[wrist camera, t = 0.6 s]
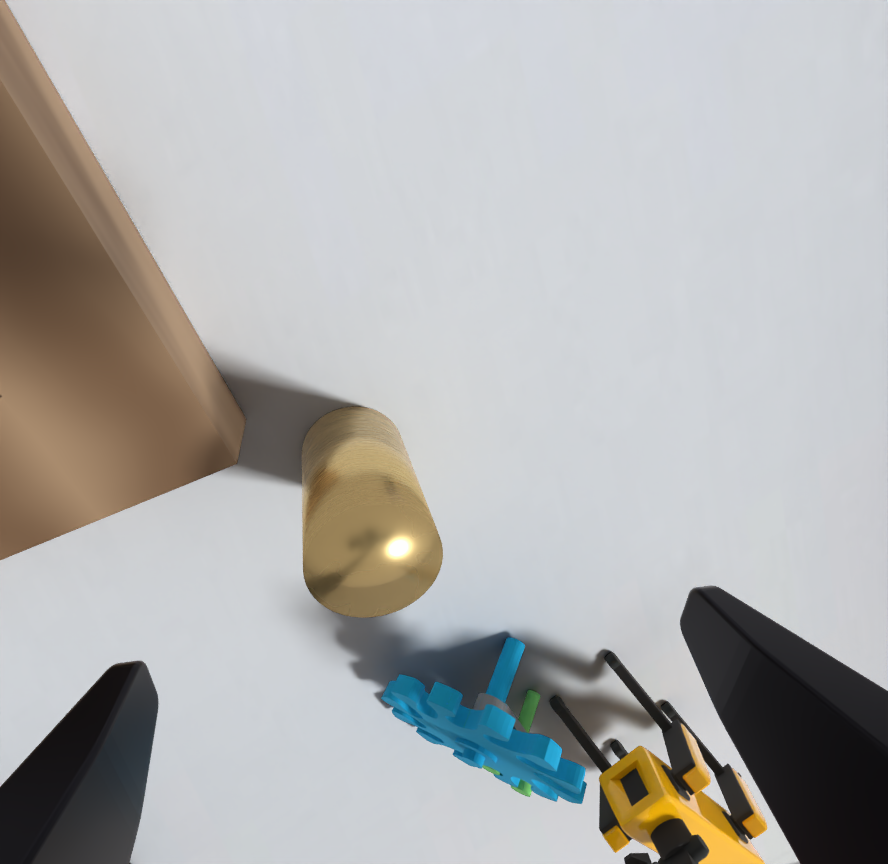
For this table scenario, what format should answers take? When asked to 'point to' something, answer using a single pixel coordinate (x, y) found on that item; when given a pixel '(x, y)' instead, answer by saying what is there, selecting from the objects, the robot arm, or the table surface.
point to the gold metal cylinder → (364, 517)
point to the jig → (87, 334)
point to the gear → (491, 731)
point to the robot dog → (670, 794)
